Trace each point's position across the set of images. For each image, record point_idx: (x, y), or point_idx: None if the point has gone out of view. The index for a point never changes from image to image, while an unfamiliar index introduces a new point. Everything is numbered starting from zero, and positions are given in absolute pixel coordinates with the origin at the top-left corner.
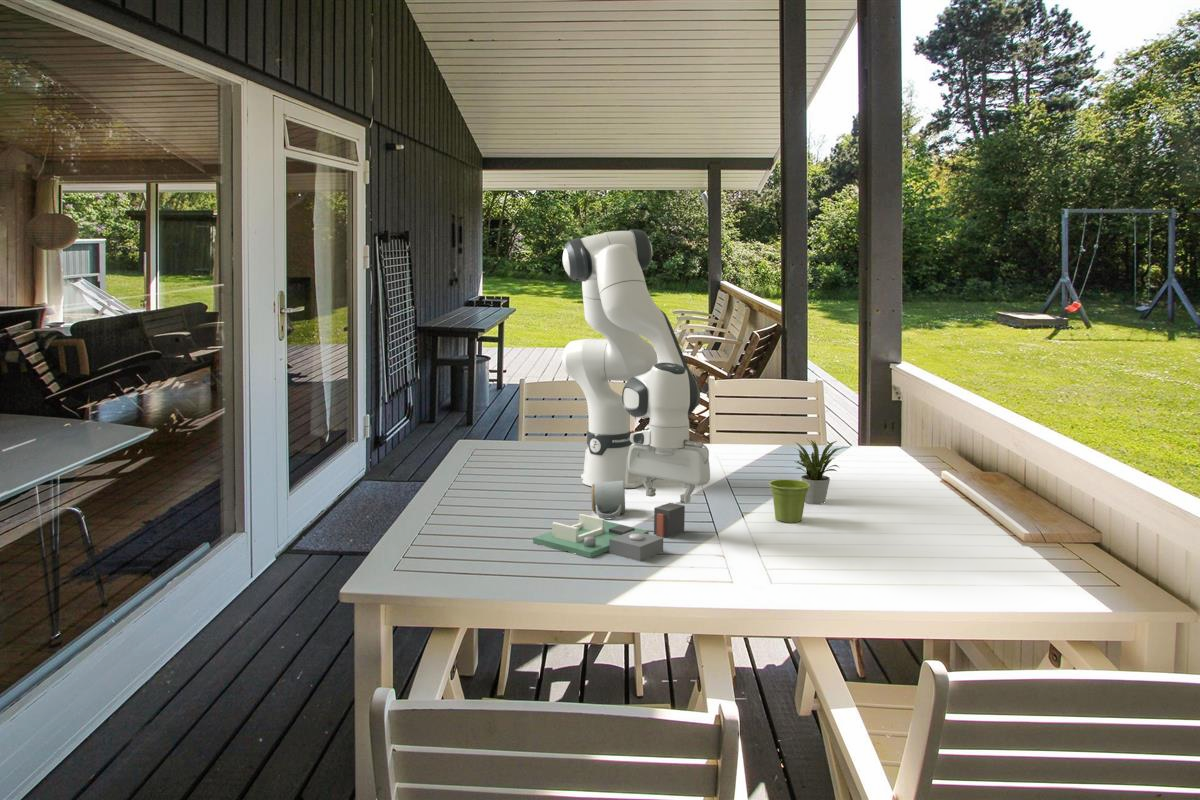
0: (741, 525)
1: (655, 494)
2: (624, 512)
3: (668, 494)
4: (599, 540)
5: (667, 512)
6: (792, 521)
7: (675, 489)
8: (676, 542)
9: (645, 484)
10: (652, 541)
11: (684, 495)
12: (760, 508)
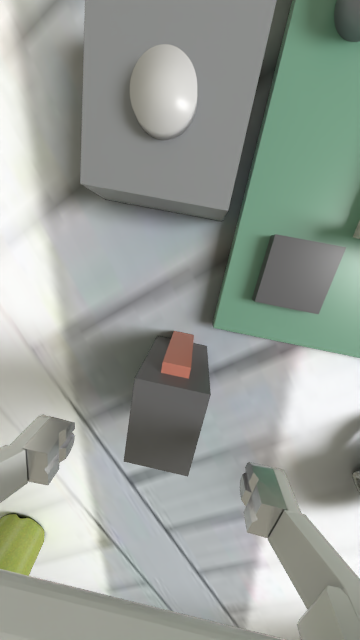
0: (69, 477)
1: (240, 489)
2: (354, 472)
3: (296, 602)
4: (341, 118)
5: (145, 375)
6: (2, 518)
7: (293, 626)
8: (120, 307)
9: (318, 546)
10: (87, 102)
11: (16, 447)
12: (98, 567)
